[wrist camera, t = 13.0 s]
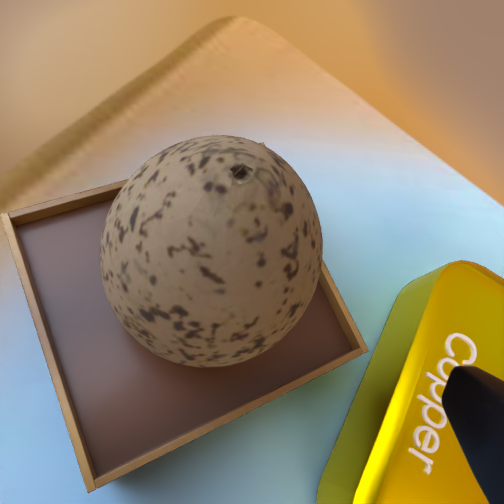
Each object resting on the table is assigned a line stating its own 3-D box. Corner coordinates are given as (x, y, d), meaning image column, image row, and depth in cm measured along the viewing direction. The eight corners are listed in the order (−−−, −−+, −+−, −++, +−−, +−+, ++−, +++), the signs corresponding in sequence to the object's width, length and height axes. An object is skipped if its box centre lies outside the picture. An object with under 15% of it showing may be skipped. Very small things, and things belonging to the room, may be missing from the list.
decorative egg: (129, 203, 19) (105, 13, 10) (281, 228, 20) (388, 80, 11) (96, 366, 16) (23, 317, 7) (273, 383, 18) (403, 359, 8)
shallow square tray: (327, 361, 23) (369, 350, 18) (103, 472, 19) (87, 493, 14) (244, 188, 25) (263, 141, 21) (32, 254, 21) (-1, 214, 17)
